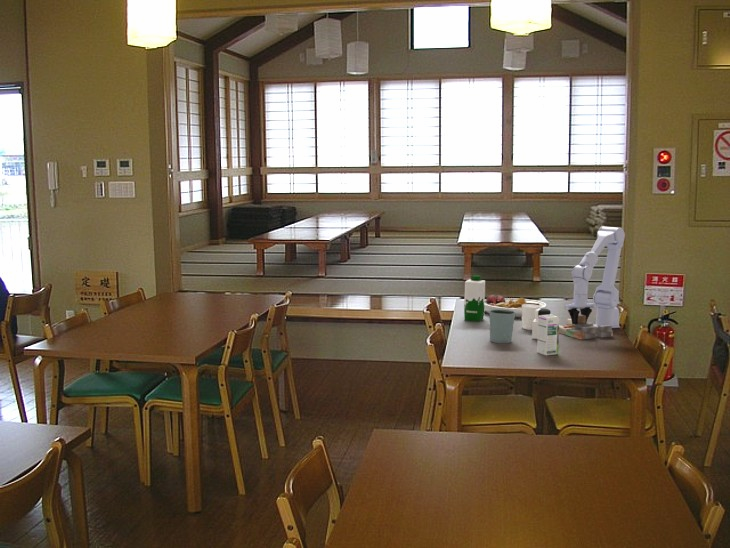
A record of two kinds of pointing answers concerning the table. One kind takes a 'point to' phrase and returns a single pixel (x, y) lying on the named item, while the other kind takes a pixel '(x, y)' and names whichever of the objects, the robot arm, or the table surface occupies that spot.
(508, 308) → the bowl
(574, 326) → the gauge plate
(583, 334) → the gauge bed
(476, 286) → the milk carton
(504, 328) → the drinking glass
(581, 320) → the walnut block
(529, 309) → the white cup
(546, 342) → the syrup box
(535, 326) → the medicine bottle
